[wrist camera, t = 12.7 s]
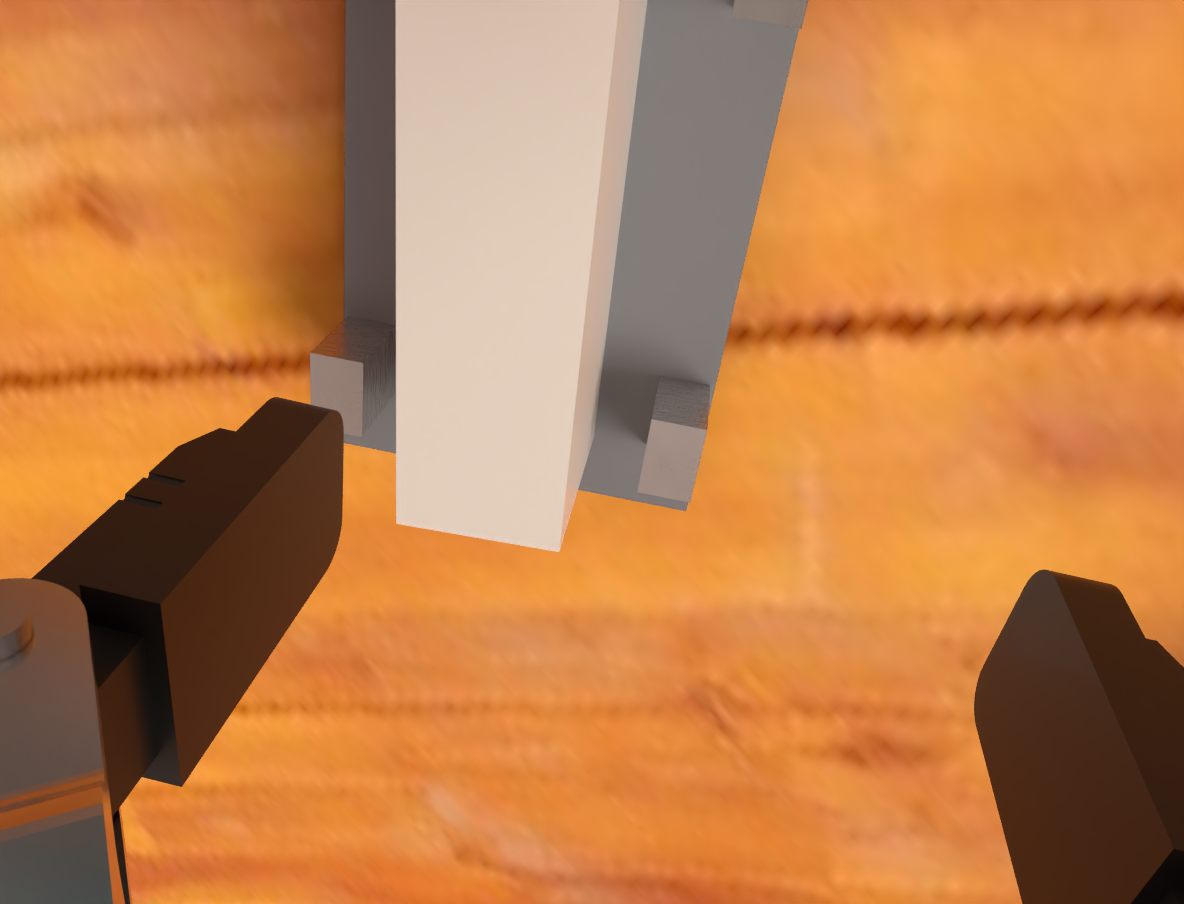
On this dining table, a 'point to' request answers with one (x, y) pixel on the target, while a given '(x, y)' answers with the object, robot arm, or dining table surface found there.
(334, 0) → the dining table surface
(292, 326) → the dining table surface
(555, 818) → the dining table surface
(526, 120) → the white block with peg
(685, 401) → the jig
